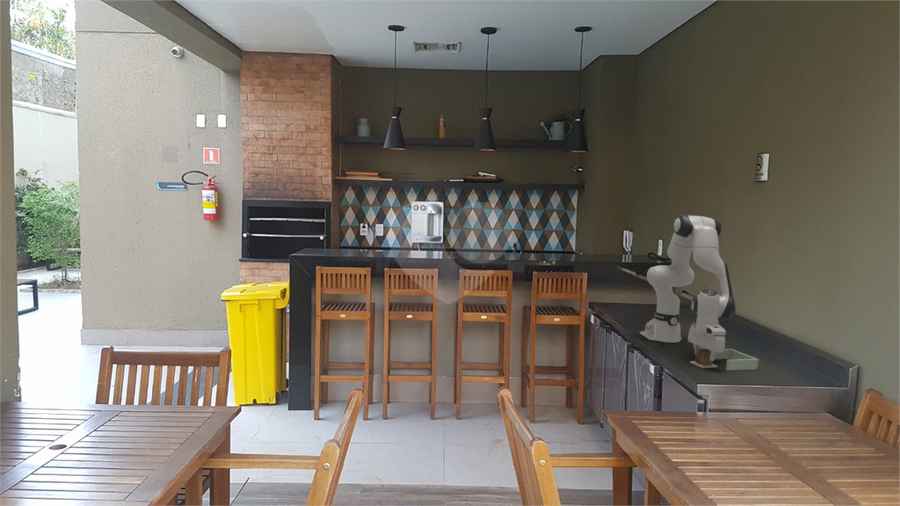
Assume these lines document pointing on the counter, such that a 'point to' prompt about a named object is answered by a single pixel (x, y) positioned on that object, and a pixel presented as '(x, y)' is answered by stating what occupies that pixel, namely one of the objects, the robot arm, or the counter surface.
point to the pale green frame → (738, 360)
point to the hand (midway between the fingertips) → (704, 357)
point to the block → (703, 357)
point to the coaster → (703, 365)
